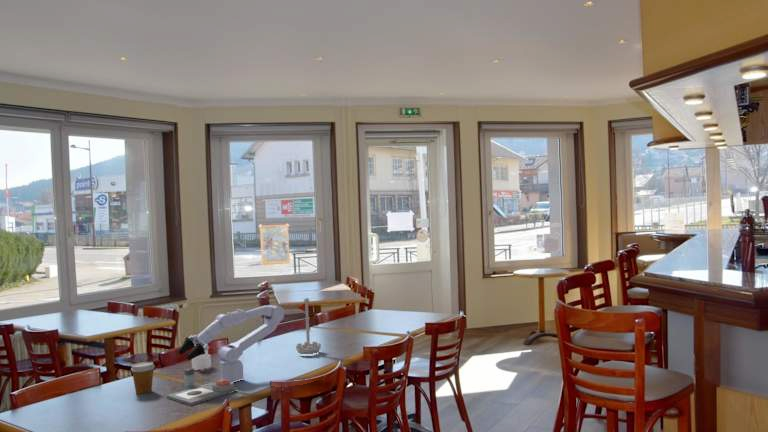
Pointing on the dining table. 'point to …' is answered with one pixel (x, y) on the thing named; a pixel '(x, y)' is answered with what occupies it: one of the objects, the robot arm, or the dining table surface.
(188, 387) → the salt shaker
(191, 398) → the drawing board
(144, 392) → the disposable coffee cup
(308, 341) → the flag stand
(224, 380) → the button
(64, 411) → the dining table surface
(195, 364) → the base with upright slab
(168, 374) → the dining table surface
